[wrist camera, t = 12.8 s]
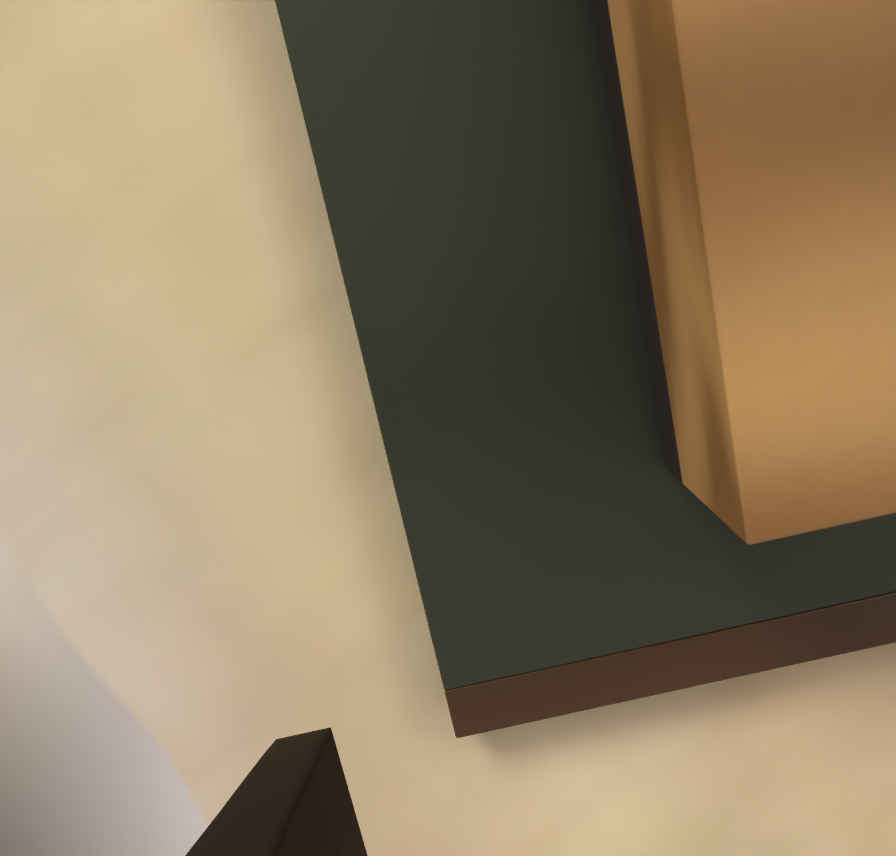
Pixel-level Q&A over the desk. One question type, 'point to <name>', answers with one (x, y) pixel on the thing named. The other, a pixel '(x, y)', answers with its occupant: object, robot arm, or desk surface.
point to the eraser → (764, 247)
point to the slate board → (537, 374)
